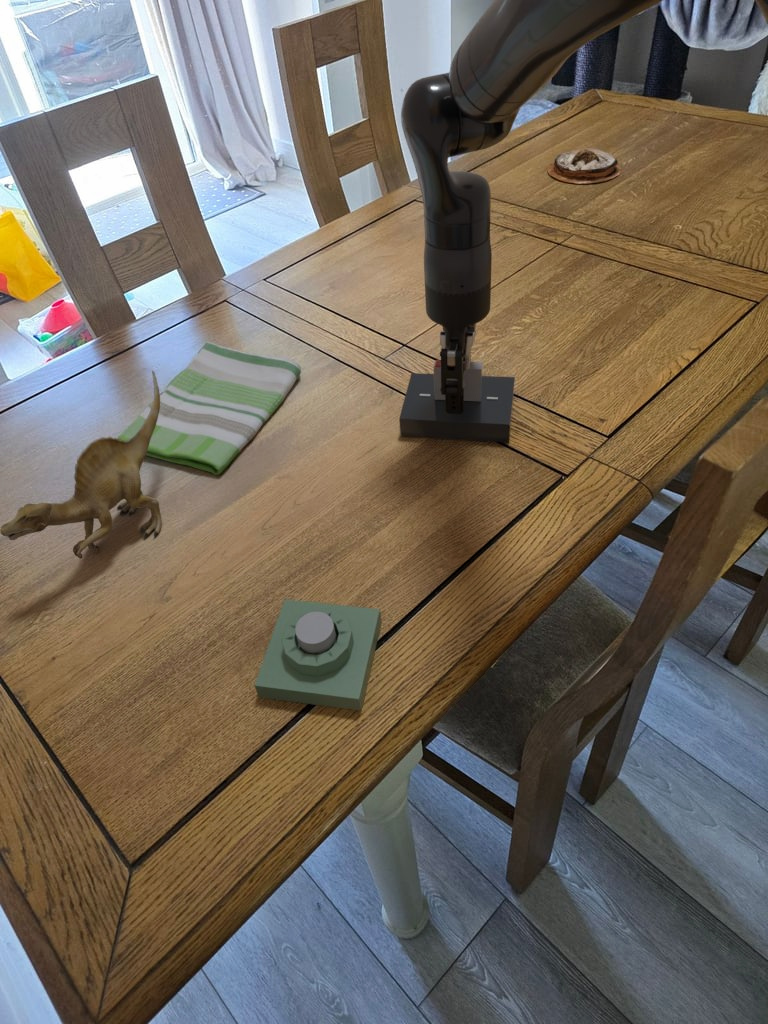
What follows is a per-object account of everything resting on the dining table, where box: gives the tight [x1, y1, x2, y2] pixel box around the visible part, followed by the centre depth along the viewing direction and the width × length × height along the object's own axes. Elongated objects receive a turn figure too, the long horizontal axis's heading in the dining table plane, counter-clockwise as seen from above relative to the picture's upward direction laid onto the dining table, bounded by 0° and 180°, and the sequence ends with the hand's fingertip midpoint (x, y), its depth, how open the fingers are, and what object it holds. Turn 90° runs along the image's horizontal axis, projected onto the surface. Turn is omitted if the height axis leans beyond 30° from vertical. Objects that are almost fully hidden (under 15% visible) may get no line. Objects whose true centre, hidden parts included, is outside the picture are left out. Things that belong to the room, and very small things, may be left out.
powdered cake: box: [547, 147, 622, 185], centre depth 145 cm, size 15×15×4 cm
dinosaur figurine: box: [0, 370, 163, 559], centre depth 79 cm, size 8×26×13 cm, turn 155°
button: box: [295, 612, 336, 654], centre depth 65 cm, size 4×4×2 cm
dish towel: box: [117, 340, 302, 476], centre depth 97 cm, size 17×23×4 cm
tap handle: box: [433, 359, 484, 402], centre depth 89 cm, size 6×2×5 cm, turn 80°
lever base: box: [398, 372, 516, 444], centre depth 92 cm, size 14×10×3 cm
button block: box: [254, 598, 383, 712], centre depth 67 cm, size 10×10×4 cm
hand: (458, 391), depth 90 cm, fingers open, 8 cm apart
